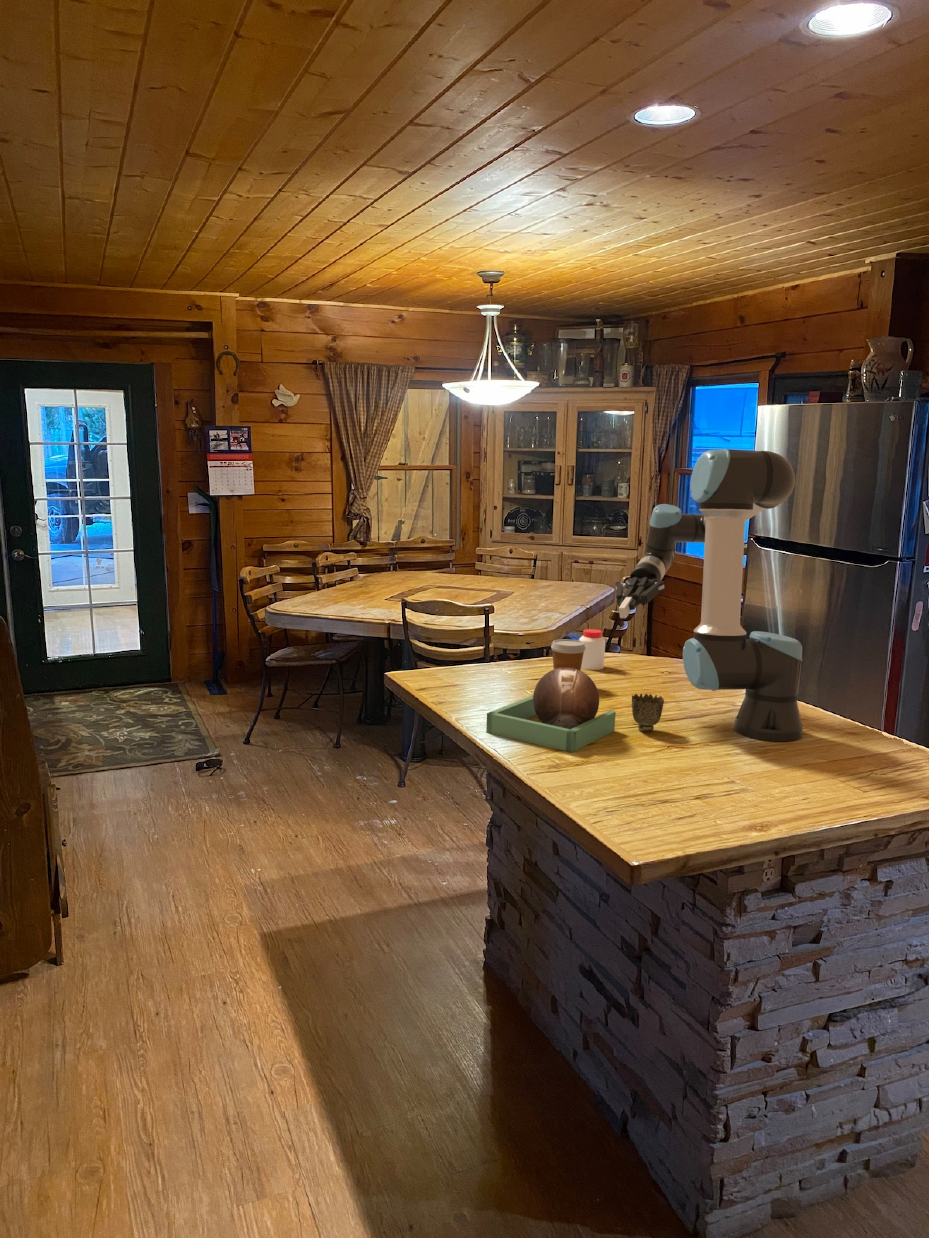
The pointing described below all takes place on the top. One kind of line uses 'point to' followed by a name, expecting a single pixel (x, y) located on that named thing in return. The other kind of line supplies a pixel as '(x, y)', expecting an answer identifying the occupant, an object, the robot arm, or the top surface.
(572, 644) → the disposable coffee cup
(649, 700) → the cup
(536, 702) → the wooden sphere
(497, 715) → the green bracket
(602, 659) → the pill bottle
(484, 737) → the top surface
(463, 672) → the top surface
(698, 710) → the top surface
